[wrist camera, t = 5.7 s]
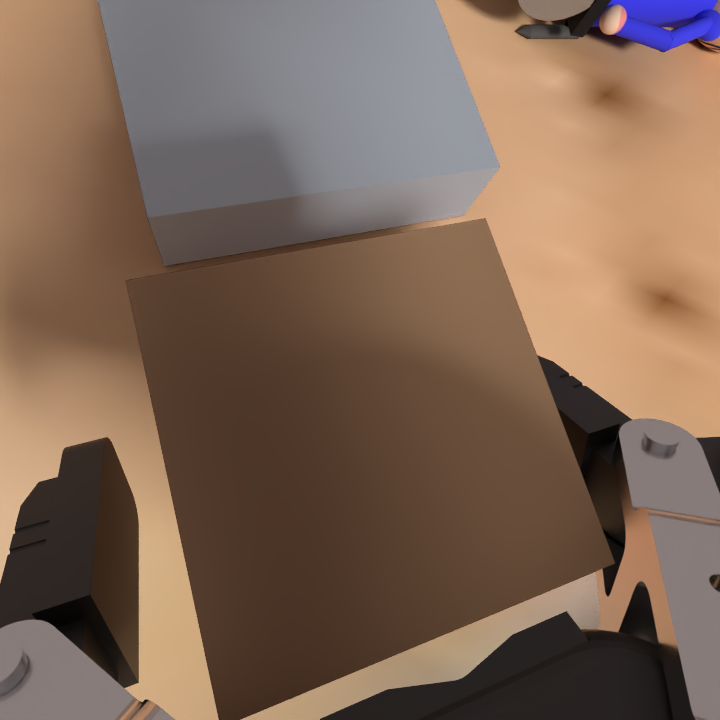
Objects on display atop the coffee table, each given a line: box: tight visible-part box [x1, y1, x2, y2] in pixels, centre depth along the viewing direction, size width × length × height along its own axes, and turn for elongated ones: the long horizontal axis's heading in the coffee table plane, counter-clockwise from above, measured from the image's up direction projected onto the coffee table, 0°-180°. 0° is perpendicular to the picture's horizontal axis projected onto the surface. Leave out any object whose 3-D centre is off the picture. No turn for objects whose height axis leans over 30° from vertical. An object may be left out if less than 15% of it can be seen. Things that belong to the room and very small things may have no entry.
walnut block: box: [126, 218, 615, 720], centre depth 11 cm, size 5×5×10 cm
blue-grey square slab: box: [98, 0, 500, 266], centre depth 18 cm, size 11×11×3 cm
